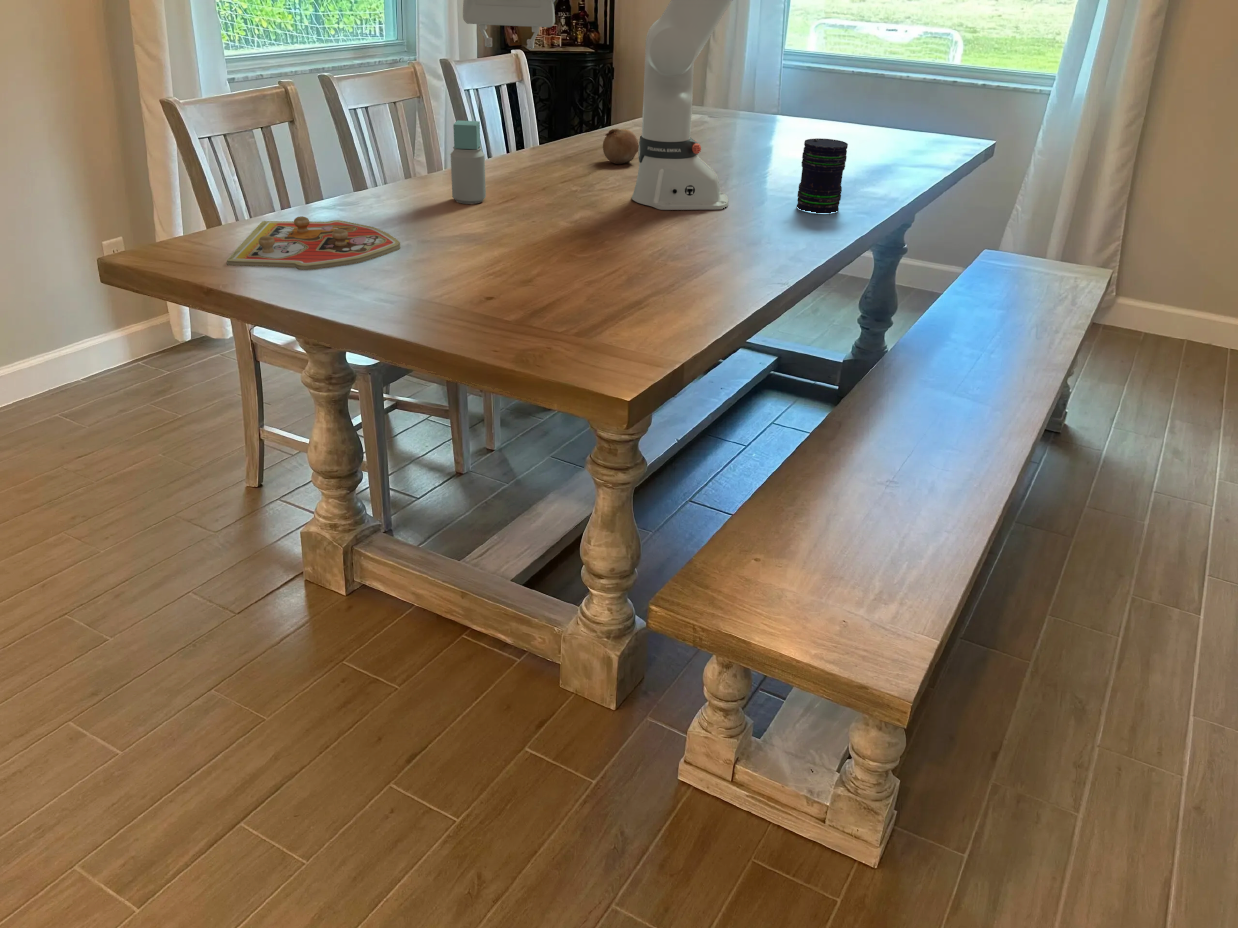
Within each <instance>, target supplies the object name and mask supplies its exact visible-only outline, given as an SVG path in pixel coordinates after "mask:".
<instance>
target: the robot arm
mask: <svg viewBox="0 0 1238 928" xmlns="http://www.w3.org/2000/svg"><path fill="white" fill-rule="evenodd" d="M733 1H734V0H670V2H669V3H668V5H667V6H666V7H665V9H664V11H663V13H662V15H661V16H660V17H659V18H658V19H657V20H656V21H654V22H653V23H652V25H650V27H649V29H648V30H647V34H646V37H645V46H644V47H645V50H644V51H645V52H644V73H643V75H644V76H643V98H642V99H643V100H642V122H641V135H640V136H639V141H638V145H639V148H638V152H637V153H638V155H637V156H638V158H637V159H638V162H639V164H638V169H637V170H638V172H637V176H636V181H635V186H634V189H633V193H632V196H631V200H633V201H634V202H635V203H638V204H641V205H645V206H648V207H653V208H654V209H657V210H662V211H671V210H672V211H673V210H677V211H679V210H681V211H682V210H683V211H684V210H687V211H688V210H691V211H694V210H695V211H697V210H724V209H726V208H727V207H728V206H729V197H728V196H727V194H725V193H724V192H722V191H721V183H720V180H719V177H718V175H717V172H715V171H716V170H714V169H713V168H712V167H710V166H709V165H708V164H707V163H706V162H705V161H704V160H702V158H700V157H699V154H700V153H701V150H702V146H701V144H700V143H699V142H698V141H697V140H696V139H693V138H692V137H691V129H692V113H693V101H694V99H693V97H694V96H693V94H694V71H695V67H694V66H695V65H694V64H695V61H697V59H698V57H699V55H700V54H701V52H702V51H703V49H704V47H705V46H706V44H707V43H708V41H709V39H710V38H711V36H712V34H713V33H714V31H715V30H716V27H717V26H718V24H719V23H720V21H721V19H722V17H723V16H724V14H725V13H726V11H728V8H729V7H730V5H731V4H732V3H733ZM555 2H556V0H463V2H462V19H463V21H464V23H465V24H468V25H479V26H478V29H479V32H480V34H481V35H482V37H483V39H484V47H485V48H486V47H487V48H489V47H490V48H492V47H493V37H489V36H488V34H487V32H486V30H487V29H488V25H490V26H509V27H510V26H512V27H514V26H515V27H516V26H517V27H531V32H532V33H533V35H532V36H531V38H530V39H529V38H528V39H527V40H526V44H527V45H526V48H527V49H529V50H531V49H534V48H535V40H536V38H537V36H538V34H539V33H540V28H552V27H553V26H554V24H555V23H556V17H555V16H556V15H555V5H554V3H555ZM725 207H726V208H725ZM723 208H724V209H723Z"/></svg>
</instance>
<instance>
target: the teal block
mask: <svg viewBox="0 0 1238 928" xmlns="http://www.w3.org/2000/svg"><path fill="white" fill-rule="evenodd" d="M480 123H481V121H479V120H456V121H455V122H454V123H453V127H452V128H453V147H454V148H458V149H478V147H479V146H480V147H481V128H480V126H481V124H480Z"/></svg>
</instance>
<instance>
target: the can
mask: <svg viewBox="0 0 1238 928" xmlns="http://www.w3.org/2000/svg"><path fill="white" fill-rule="evenodd" d="M452 148H453V150H452V152H451V153H450V154H449V155H450V174H451V176H450V177H451V193H452V194H451V195H452V198H453V199H454V200H455V202H457V203H458V204H459V203H460V204H464V205H465V204H466V205H475V204H480V203H481V202H483V201H484V200H485V199H486V197H487V193H486V161H485V159H486V158H485V155H486V154H485V153H484V152H483V151H482V147H481V145H480V146H479V147H478V149H458V148H454V146H453V147H452Z"/></svg>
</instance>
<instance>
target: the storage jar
mask: <svg viewBox="0 0 1238 928" xmlns="http://www.w3.org/2000/svg"><path fill="white" fill-rule="evenodd" d="M803 145H804V147H803V152H802V157H801V158H802V159H801V167H802V169H801V176H800V183H799V184H798V190H797V204H796V208H797V207H798V208H799V209H801V210H805V211H811V212H816V213H831V212H836V211H838V212H839V210H840V208H839V206H840V201H841V199H842V189H843V187H842V180H843V174H844V170H845V168H846V162H847V157H848V156H847V153H848V152H847V151H848V150H847V149H848V145H849V144H848V143H847V142H846V141H843V140H838V139H832V138H820V137H819V138H809V139H805V140H804V143H803Z"/></svg>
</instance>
